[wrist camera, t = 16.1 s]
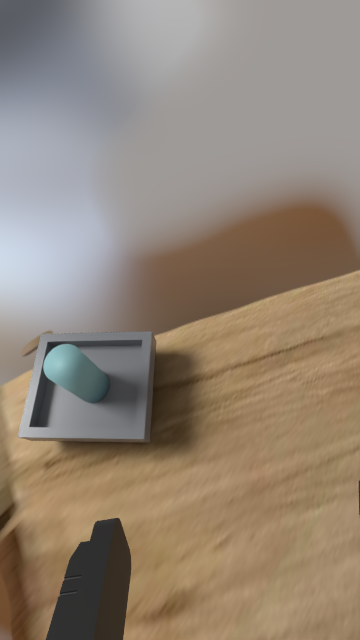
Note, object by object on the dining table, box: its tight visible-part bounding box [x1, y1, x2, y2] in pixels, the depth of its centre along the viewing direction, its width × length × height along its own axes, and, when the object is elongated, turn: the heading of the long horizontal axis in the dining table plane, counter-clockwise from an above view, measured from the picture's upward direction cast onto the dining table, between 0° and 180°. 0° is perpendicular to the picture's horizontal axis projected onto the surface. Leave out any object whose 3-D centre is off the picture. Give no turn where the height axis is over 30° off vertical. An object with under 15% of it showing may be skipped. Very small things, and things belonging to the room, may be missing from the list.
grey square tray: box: [18, 331, 156, 442], centre depth 47 cm, size 16×14×6 cm
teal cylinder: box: [43, 344, 110, 403], centre depth 41 cm, size 4×4×10 cm
